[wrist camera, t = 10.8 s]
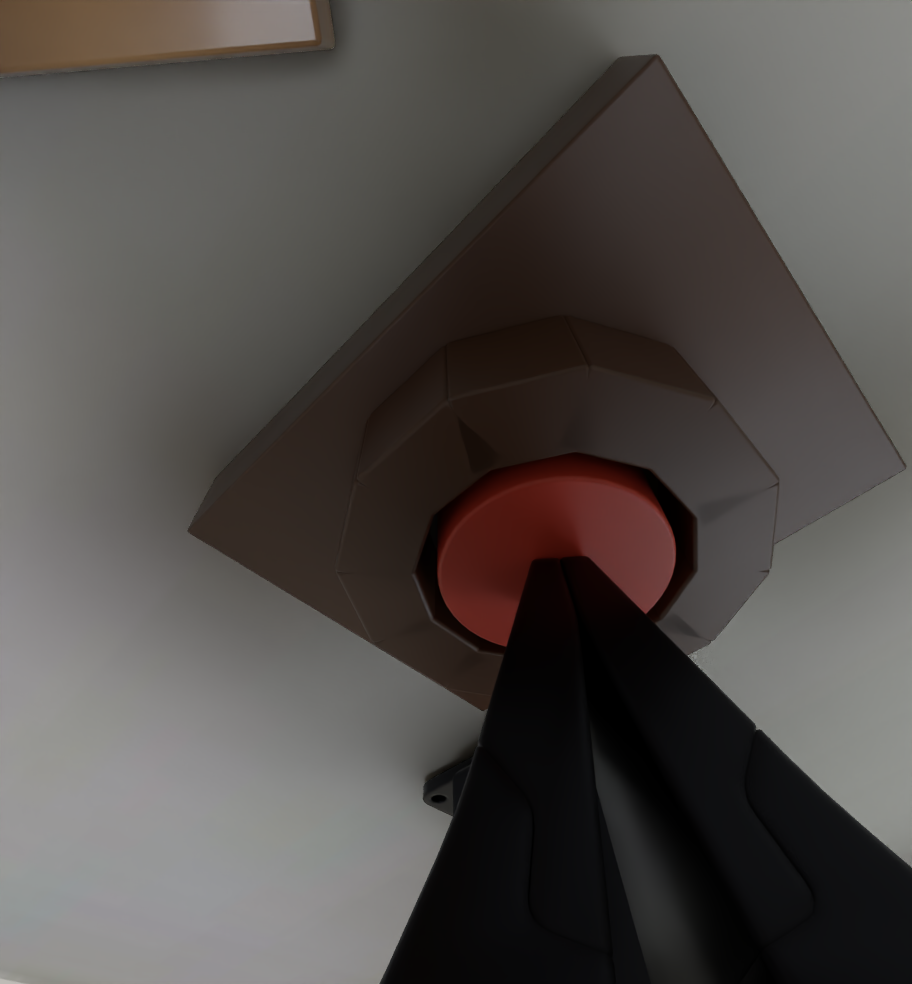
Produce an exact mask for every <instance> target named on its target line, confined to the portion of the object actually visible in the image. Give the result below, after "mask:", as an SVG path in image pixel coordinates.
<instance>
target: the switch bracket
mask: <svg viewBox="0 0 912 984" xmlns="http://www.w3.org/2000/svg"><path fill="white" fill-rule="evenodd" d="M334 46H335V37H334V30H333V24H332V17H331V10H330V4H329V0H0V78H7V77H19V76H30V75H42V74H53V73H65V72H77V71H88V70H100V69H111V68H123V67H134V66H146V65H157V64H169V63H180V62H192V61H204V60H215V59H227V58H238V57H250V56H261V55H273V54H284V53H296V52H308V51H319V50H331V49H332V48H334Z"/></svg>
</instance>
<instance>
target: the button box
mask: <svg viewBox="0 0 912 984" xmlns="http://www.w3.org/2000/svg"><path fill="white" fill-rule="evenodd" d="M573 452H578V453H582V454H586V455H590V456H594V457H598V458H603V459H607V460H611V461H615V462H619V463H623V464H627V465H632V466H636V467H640V468H642V470H643V472H644V474H645V476H646V478H647V480H648V482H649V484H650V486H651V488H652V490H653V492H654V494H655V496H656V498H657V500H658V502H659V504H660V506H661V508H662V510H663V512H664V514H665V516H666V518H667V520H668V522H669V524H670V525H671V528H672V531H673V534H674V537H675V544H676V561H675V566H674V571H673V575H672V577H671V579H670V582H669V584H668V586H667V588H666V590H665V591H664V593H663V595H662V596H661V597H660V599H659V600H658V601H657V603H656V604H655V605H654V606H653V607H652V608H651V609H650V610H649V611H648V612H647V613H646V615H647V616H648V617H649V618H650V619H651V620H652V621H653V622H654V623H655V624H656V625H657V626H658V627H659V628H660V629H661V630H662V631H663V632H664V633H665V634H666V635H667V636H668V637H669V638H670V639H671V640H672V641H673V642H674V643H675V644H676V645H677V646H678V647H679V648H680V649H681V650H682V651H683V652H684V653H685V654H686V655H689V654H691V653H693V652H695V651H697V650H699V649H701V648H703V647H705V646H707V645H708V644H710V643H711V641H713V640H715V639H716V637H717V636H718V635H719V634H720V632H721V631H722V630H723V629H724V628H725V626H726V625H727V624H728V623H729V621H730V620H731V619H732V618H733V617H734V615H735V614H736V613H737V612H738V610H739V609H740V608H741V607H742V606H743V604H744V603H745V602H746V601H747V600H748V598H749V597H750V596H751V595H752V593H753V592H754V591H755V590H756V589H757V587H758V586H759V585H760V584H761V582H762V581H763V580H764V579H765V578H766V576H767V575H768V574H769V569H771V566H772V556H773V546H774V544H776V543H778V542H779V541H781V540H783V539H785V538H786V537H788V536H790V535H792V534H793V533H795V532H797V531H798V530H800V529H802V528H804V527H805V526H807V525H809V524H811V523H812V522H814V521H816V520H818V519H819V518H821V517H823V516H825V515H826V514H828V513H830V512H832V511H833V510H835V509H837V508H839V507H840V506H842V505H844V504H846V503H847V502H849V501H851V500H853V499H854V498H856V497H858V496H860V495H861V494H863V493H865V492H867V491H868V490H870V489H872V488H874V487H875V486H877V485H879V484H881V483H882V482H884V481H886V480H887V479H889V478H891V477H893V476H894V475H896V474H898V473H900V472H901V471H903V470H905V469H906V464H905V463H904V461H903V459H902V458H901V456H900V454H899V453H898V451H897V449H896V448H895V446H894V444H893V443H892V441H891V439H890V438H889V436H888V434H887V433H886V431H885V429H884V428H883V426H882V424H881V423H880V421H879V419H878V418H877V416H876V414H875V413H874V411H873V409H872V408H871V406H870V404H869V403H868V401H867V399H866V398H865V396H864V395H863V393H862V391H861V390H860V388H859V386H858V385H857V383H856V381H855V380H854V378H853V376H852V375H851V373H850V371H849V370H848V368H847V366H846V365H845V363H844V361H843V360H842V358H841V356H840V355H839V353H838V351H837V350H836V348H835V346H834V345H833V343H832V341H831V340H830V338H829V336H828V335H827V333H826V331H825V330H824V328H823V326H822V325H821V323H820V321H819V320H818V318H817V316H816V315H815V313H814V311H813V310H812V308H811V306H810V305H809V303H808V301H807V300H806V298H805V296H804V295H803V293H802V291H801V290H800V288H799V286H798V285H797V283H796V281H795V280H794V278H793V276H792V275H791V273H790V272H789V270H788V268H787V267H786V265H785V263H784V262H783V260H782V258H781V257H780V255H779V253H778V252H777V250H776V248H775V247H774V245H773V243H772V242H771V240H770V238H769V237H768V235H767V233H766V232H765V230H764V228H763V227H762V225H761V223H760V222H759V220H758V218H757V217H756V215H755V213H754V212H753V210H752V208H751V207H750V205H749V203H748V202H747V200H746V198H745V197H744V195H743V193H742V192H741V190H740V188H739V187H738V185H737V183H736V182H735V180H734V178H733V177H732V175H731V173H730V172H729V170H728V168H727V167H726V165H725V163H724V162H723V160H722V158H721V157H720V155H719V153H718V152H717V150H716V149H715V147H714V145H713V144H712V142H711V140H710V139H709V137H708V135H707V134H706V132H705V130H704V129H703V127H702V125H701V124H700V122H699V120H698V119H697V117H696V115H695V114H694V112H693V110H692V109H691V107H690V105H689V104H688V102H687V100H686V99H685V97H684V95H683V94H682V92H681V90H680V89H679V87H678V85H677V84H676V82H675V80H674V79H673V77H672V75H671V74H670V72H669V70H668V69H667V67H666V65H665V64H664V62H663V60H662V59H661V57H660V56H659V55H657V54H653V55H638V56H624V57H620V58H618V59H617V60H616V61H615V62H614V63H613V64H612V65H611V66H610V67H609V69H608V70H607V71H606V72H605V73H604V74H603V75H602V76H601V77H600V78H599V79H598V80H597V81H596V82H595V83H594V84H593V85H592V86H591V87H590V88H589V89H588V90H587V91H586V92H585V94H584V95H583V96H582V97H581V98H580V99H579V100H578V101H577V102H576V103H575V104H574V105H573V106H572V107H571V108H570V109H569V110H568V111H567V112H566V113H565V114H564V115H563V116H562V118H561V119H560V120H559V121H558V122H557V123H556V124H555V125H554V126H553V127H552V128H551V129H550V130H549V131H548V132H547V133H546V134H545V135H544V136H543V137H542V138H541V139H540V140H539V142H538V143H537V144H536V145H535V146H534V147H533V148H532V149H531V150H530V151H529V152H528V153H527V154H526V155H525V156H524V157H523V158H522V159H521V160H520V161H519V162H518V163H517V164H516V165H515V167H514V168H513V169H512V170H511V171H510V172H509V173H508V174H507V175H506V176H505V177H504V178H503V179H502V180H501V181H500V182H499V183H498V184H497V185H496V186H495V187H494V188H493V189H492V191H491V192H490V193H489V194H488V195H487V196H486V197H485V198H484V199H483V200H482V201H481V202H480V203H479V204H478V205H477V206H476V207H475V208H474V209H473V210H472V211H471V212H470V213H469V214H468V216H467V217H466V218H465V219H464V220H463V221H462V222H461V223H460V224H459V225H458V226H457V227H456V228H455V229H454V230H453V231H452V232H451V233H450V234H449V235H448V236H447V237H446V238H445V240H444V241H443V242H442V243H441V244H440V245H439V246H438V247H437V248H436V249H435V250H434V251H433V252H432V253H431V254H430V255H429V256H428V257H427V258H426V259H425V260H424V261H423V262H422V264H421V265H420V266H419V267H418V268H417V269H416V270H415V271H414V272H413V273H412V274H411V275H410V276H409V277H408V278H407V279H406V280H405V281H404V282H403V283H402V284H401V285H400V286H399V287H398V289H397V290H396V291H395V292H394V293H393V294H392V295H391V296H390V297H389V298H388V299H387V300H386V301H385V302H384V303H383V304H382V305H381V306H380V307H379V308H378V309H377V310H376V311H375V313H374V314H373V315H372V316H371V317H370V318H369V319H368V320H367V321H366V322H365V323H364V324H363V325H362V326H361V327H360V328H359V329H358V330H357V331H356V332H355V333H354V334H353V335H352V336H351V338H350V339H349V340H348V341H347V342H346V343H345V344H344V345H343V346H342V347H341V348H340V349H339V350H338V351H337V352H336V353H335V354H334V355H333V356H332V357H331V358H330V359H329V360H328V362H327V363H326V364H325V365H324V366H323V367H322V368H321V369H320V370H319V371H318V372H317V373H316V374H315V375H314V376H313V377H312V378H311V379H310V380H309V381H308V382H307V383H306V384H305V386H304V387H303V388H302V389H301V390H300V391H299V392H298V393H297V394H296V395H295V396H294V397H293V398H292V399H291V400H290V401H289V402H288V403H287V404H286V405H285V406H284V407H283V408H282V409H281V411H280V412H279V413H278V414H277V415H276V416H275V417H274V418H273V419H272V420H271V421H270V422H269V423H268V424H267V425H266V426H265V427H264V428H263V429H262V430H261V431H260V432H259V433H258V435H257V436H256V437H255V438H254V439H253V440H252V441H251V442H250V443H249V444H248V445H247V446H246V447H245V448H244V449H243V450H242V451H241V452H240V453H239V454H238V455H237V456H236V457H235V459H234V460H233V461H232V462H231V463H230V464H229V465H228V466H227V467H226V468H225V469H224V470H223V471H222V472H221V473H220V474H219V475H218V476H217V477H216V478H215V480H214V482H213V484H212V485H211V487H210V489H209V491H208V493H207V495H206V496H205V498H204V500H203V502H202V504H201V505H200V507H199V509H198V511H197V513H196V515H195V516H194V518H193V520H192V522H191V524H190V526H189V527H188V532H189V533H190V534H192V535H193V536H195V537H197V538H198V539H200V540H202V541H203V542H205V543H206V544H208V545H210V546H211V547H213V548H215V549H216V550H218V551H220V552H221V553H223V554H225V555H226V556H228V557H230V558H231V559H233V560H234V561H236V562H238V563H239V564H241V565H243V566H244V567H246V568H248V569H249V570H251V571H253V572H254V573H256V574H258V575H259V576H261V577H263V578H264V579H266V580H267V581H269V582H271V583H272V584H274V585H276V586H277V587H279V588H281V589H282V590H284V591H286V592H287V593H289V594H291V595H292V596H294V597H295V598H297V599H299V600H300V601H302V602H304V603H305V604H307V605H309V606H310V607H312V608H314V609H315V610H317V611H319V612H320V613H322V614H323V615H325V616H327V617H328V618H330V619H332V620H333V621H335V622H337V623H338V624H340V625H342V626H343V627H345V628H347V629H348V630H350V631H351V632H353V633H355V634H356V635H358V636H360V637H361V638H363V639H365V640H366V641H368V642H370V643H371V644H373V645H375V646H376V647H378V648H379V649H381V650H383V651H384V652H386V653H388V654H389V655H391V656H392V657H394V658H396V659H397V660H399V661H401V662H402V663H404V664H406V665H407V666H409V667H411V668H412V669H414V670H416V671H417V672H419V673H421V674H422V675H424V676H425V677H427V678H429V679H430V680H432V681H434V682H435V683H437V684H439V685H440V686H442V687H444V688H445V689H447V690H449V691H450V692H452V693H454V694H455V695H457V696H459V697H460V698H462V699H464V700H465V701H467V702H468V703H470V704H472V705H473V706H475V707H477V708H478V709H480V710H482V711H484V710H486V709H488V706H489V703H490V699H491V696H492V693H493V689H494V686H495V683H496V679H497V676H498V672H499V669H500V666H501V662H502V659H503V656H504V652H505V649H506V647H505V646H502V645H499V644H496V643H493V642H490V641H488V640H486V639H484V638H481V637H480V636H478V635H476V634H475V633H473V632H471V631H470V630H468V629H467V628H466V627H465V626H463V625H462V624H461V623H460V622H459V621H458V620H457V619H456V618H455V617H454V616H453V614H452V613H451V611H450V610H449V609H448V607H447V606H446V604H445V602H444V600H443V598H442V595H441V592H440V589H439V585H438V577H437V512H439V511H440V510H441V509H442V508H444V507H445V506H446V505H447V504H449V503H450V502H451V501H452V500H454V499H455V498H456V497H458V496H459V495H460V494H461V493H463V492H464V491H465V490H466V489H468V488H469V487H470V486H472V485H473V484H474V483H475V482H477V481H478V480H479V479H480V478H482V477H483V476H484V475H485V474H487V473H488V472H489V471H491V470H495V469H499V468H504V467H509V466H513V465H518V464H522V463H527V462H532V461H536V460H541V459H545V458H550V457H555V456H559V455H564V454H568V453H573Z"/></svg>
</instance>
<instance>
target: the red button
mask: <svg viewBox="0 0 912 984" xmlns="http://www.w3.org/2000/svg"><path fill="white" fill-rule="evenodd" d="M573 556H587V557H589V558H590V559H592V560H593V561H594V563H595V564H596V565H597V566H598V567H599V568H600V569H601V570H602V571H603V572H604V573H605V574H606V575H607V576H608V577H609V578H610V579H611V580H612V581H613V582H614V583H615V584H616V585H617V586H618V587H619V588H620V589H621V590H622V591H623V592H624V593H625V594H626V595H627V596H628V597H629V598H630V599H631V600H632V601H633V602H634V603H635V604H636V605H637V606H638V607H639V608H640V609H641V610H642V611H643V612H644V613H645V614H646V613H647V612H648V611H649V610H650V609H651V608H652V607H653V606H654V605H655V604H656V603H657V601H658V600H659V599H660V597H661V596H662V595H663V593H664V591H665V590H666V588H667V586H668V584H669V582H670V579H671V577H672V575H673V571H674V566H675V561H676V544H675V537H674V534H673V531H672V528H671V525H670V524H669V522H668V520H667V518H666V516H665V514H664V512H663V510H662V508H661V506H660V504H659V502H658V500H657V498H656V496H655V494H654V492H653V490H652V488H651V486H650V484H649V482H648V480H647V478H646V476H645V474H644V472H643V470H642V468H640V467H636V466H632V465H627V464H623V463H619V462H615V461H611V460H607V459H603V458H598V457H594V456H590V455H586V454H582V453H578V452H573V453H568V454H564V455H559V456H555V457H550V458H545V459H541V460H536V461H532V462H527V463H522V464H518V465H513V466H509V467H504V468H499V469H495V470H491V471H489V472H488V473H487V474H485V475H484V476H483V477H482V478H480V479H479V480H478V481H477V482H475V483H474V484H473V485H472V486H470V487H469V488H468V489H466V490H465V491H464V492H463V493H461V494H460V495H459V496H458V497H456V498H455V499H454V500H452V501H451V502H450V503H449V504H447V505H446V506H445V507H444V508H442V509H441V510H440V511H439V512H437V577H438V585H439V589H440V592H441V595H442V598H443V600H444V602H445V604H446V606H447V607H448V609H449V610H450V611H451V613H452V614H453V616H454V617H455V618H456V619H457V620H458V621H459V622H460V623H461V624H462V625H463V626H465V627H466V628H467V629H468V630H470V631H471V632H473V633H475V634H476V635H478V636H480V637H481V638H484V639H486V640H488V641H490V642H493V643H496V644H499V645H502V646H505V647H506V645H507V642H508V639H509V635H510V632H511V629H512V625H513V622H514V618H515V615H516V612H517V608H518V605H519V602H520V598H521V595H522V591H523V588H524V585H525V581H526V578H527V575H528V571H529V568H530V564H531V562H532V561H533V560H534V559H543V558H557V559H559V561H560V560H561V559H562V558H563V557H573Z"/></svg>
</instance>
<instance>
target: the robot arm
mask: <svg viewBox="0 0 912 984" xmlns="http://www.w3.org/2000/svg"><path fill="white" fill-rule="evenodd" d="M423 800H424V802H425V803H426V804H428V805H430V806H432V807H434V808H436V809H438V810H440V811H443V812H445V813H447V814H449V815H451V816H453V819H452V821H451V823H450V826H449V828H448V831H447V833H446V836H445V838H444V841H443V843H442V846H441V848H440V851H439V853H438V855H437V858H436V860H435V862H434V864H433V867H432V869H431V871H430V873H429V876H428V878H427V880H426V882H425V885H424V887H423V889H422V891H421V893H420V896H419V898H418V900H417V902H416V905H415V907H414V909H413V911H412V914H411V916H410V918H409V920H408V922H407V925H406V927H405V929H404V931H403V934H402V936H401V938H400V940H399V943H398V945H397V947H396V949H395V952H394V954H393V956H392V958H391V960H390V963H389V965H388V967H387V969H386V971H385V973H384V975H383V978H382V980H381V982H380V984H912V868H911V867H910V866H909V865H908V864H907V863H906V862H904V861H903V860H902V859H901V858H900V857H899V856H897V855H896V854H895V853H894V852H893V851H892V850H890V849H889V848H888V847H887V846H886V845H884V844H883V843H882V842H881V841H880V840H879V839H877V838H876V837H875V836H874V835H873V834H872V833H870V832H869V831H868V830H867V829H866V828H865V827H864V826H862V825H861V824H860V823H859V822H858V821H857V820H856V819H855V818H853V817H852V816H851V815H850V814H849V813H848V812H847V811H846V810H844V809H843V808H842V807H841V806H840V805H839V804H838V803H836V802H835V801H834V800H833V799H832V798H831V797H830V796H829V795H827V794H826V793H825V792H824V791H823V790H822V789H821V788H820V787H819V786H818V785H817V784H816V783H815V782H814V781H813V780H811V779H810V778H809V777H808V776H807V775H806V774H805V773H804V772H803V771H802V770H801V769H800V768H799V767H798V766H797V765H796V764H795V763H794V762H793V761H792V760H791V759H790V758H789V757H788V756H787V755H786V754H784V753H783V752H782V751H781V750H780V749H779V747H778V746H777V745H776V744H775V743H774V742H773V741H772V740H771V739H770V738H769V737H768V736H767V735H766V734H765V733H764V732H763V731H762V730H756V725H755V724H754V723H753V722H752V721H751V720H750V719H749V718H748V717H747V716H746V715H745V714H744V713H743V712H742V711H741V710H740V708H739V707H738V706H737V705H736V704H735V703H734V702H733V701H732V700H731V699H730V698H729V697H728V696H727V695H726V694H725V693H724V692H723V691H722V690H721V689H720V688H719V687H718V686H717V685H716V684H715V683H714V682H713V681H712V680H711V679H710V678H709V677H708V676H707V675H706V674H705V673H704V672H703V671H702V670H701V669H700V668H699V667H698V666H697V665H696V664H695V663H694V662H693V661H692V660H691V659H690V658H689V657H688V656H687V655H686V654H685V653H684V652H683V651H682V650H681V649H680V648H679V647H678V646H677V645H676V644H675V643H674V642H673V641H672V640H671V639H670V638H669V637H668V636H667V635H666V634H665V633H664V632H663V631H662V630H661V629H660V628H659V627H658V626H657V625H656V624H655V623H654V622H653V621H652V620H651V619H650V618H649V617H648V616H647V615H646V614H645V613H644V612H643V611H642V610H641V609H640V608H639V607H638V606H637V605H636V604H635V603H634V602H633V601H632V600H631V599H630V598H629V597H628V596H627V595H626V594H625V593H624V592H623V591H622V590H621V589H620V588H619V587H618V586H617V585H616V584H615V583H614V582H613V581H612V580H611V579H610V578H609V577H608V576H607V575H606V574H605V573H604V572H603V571H602V570H601V569H600V568H599V567H598V566H597V565H596V564H595V563H594V561H593V560H592V559H590V558H589V557H587V556H573V557H563V558H562V559H561V560H560V561H559V559H557V558H543V559H534V560H533V561H532V562H531V564H530V568H529V571H528V575H527V578H526V581H525V585H524V588H523V591H522V595H521V598H520V602H519V605H518V608H517V612H516V615H515V618H514V622H513V625H512V629H511V632H510V635H509V639H508V642H507V645H506V649H505V652H504V656H503V659H502V662H501V666H500V669H499V672H498V676H497V679H496V683H495V686H494V689H493V693H492V696H491V699H490V703H489V706H488V710H487V713H486V716H485V720H484V723H483V726H482V730H481V733H480V736H479V740H478V746H477V747H476V749H475V752H474V755H473V757H471V758H470V759H468V760H466V761H464V762H462V763H460V764H458V765H457V766H455V767H453V768H451V769H449V770H447V771H445V772H443V773H442V774H440V775H438V776H436V777H434V778H432V779H430V780H429V781H427V782H426V783H425V784H424V786H423Z"/></svg>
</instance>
